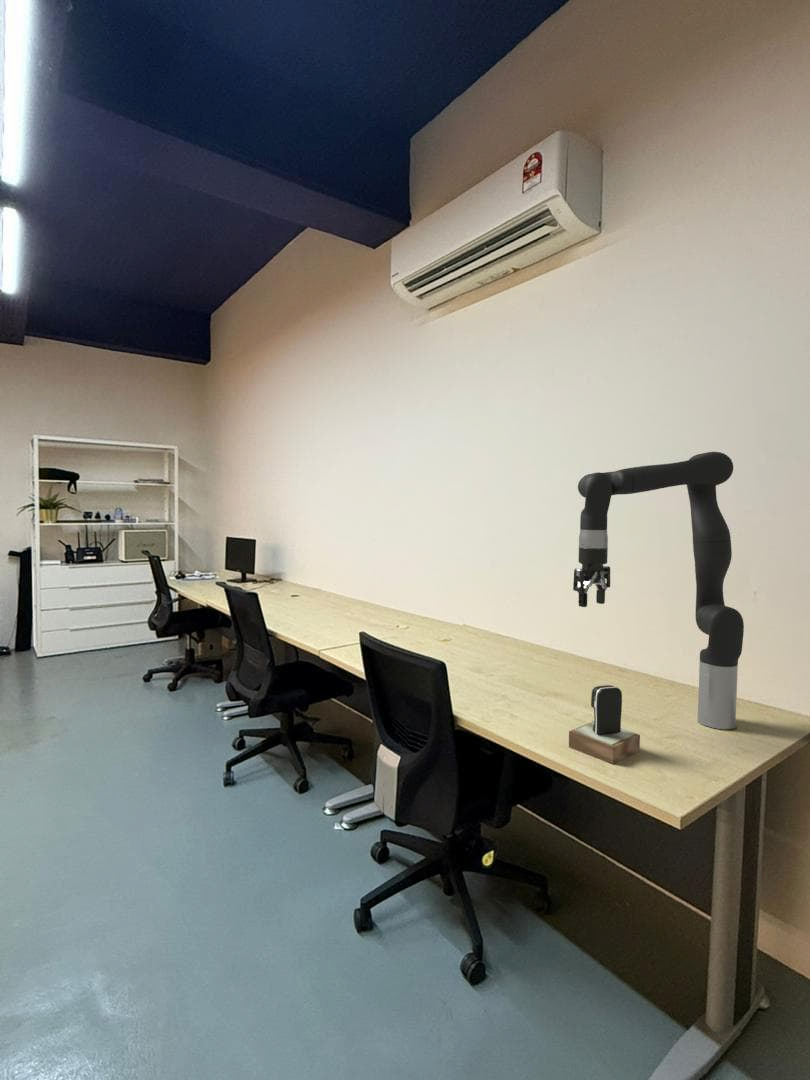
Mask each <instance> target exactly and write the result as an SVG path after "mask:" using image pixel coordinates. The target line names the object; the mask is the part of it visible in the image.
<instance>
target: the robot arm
mask: <svg viewBox="0 0 810 1080" xmlns="http://www.w3.org/2000/svg"><path fill="white" fill-rule="evenodd" d="M733 473H734V463H733V461H732V458H730V456H728V455H727V454H725V453H723V452H720V451H707V452H704V453H703V452H701V453H697V454H695V455H693V456H691V457H689V459H688V460H687V459H686V460H684V461H677V462H671V463H661V464H652V465H642V466H641V465H640V466H634V467H628V468H627V467H626V468H622V469H618V470H614V471H606V472H599V471H598V472H593V473H588V474H585V475H584V476H583V477H581V478H580V480H579V481H578V483H577V490H578V493H579V494H580V496H582V497H583V498H585V499H584V500H585V502H584V507H583V509H582V510H581V511H580V520H579V524H580V525H579V536H578V559H577V560H578V563H580V564H581V565H582V566H581V568H574V570H573V583H572V584H573V587H572V589H573V591H574V592H577V593H578V606H579V607H582V608H587V607H588V591H589V589H590V588H591V587H592V586H593V584H594V586H595V587H596V595H595V596H596V599H595V600H596V601H595V602H596V604H599V605H604V604H605V602H606V591H607V590H608V589H607V588H611V566H608V565H607V564H608V554H609V553H608V552H609V550H608V547H609V546H608V545H609V535H608V512H609V509H610V505H611V499H612V496H617V495H630V494H631V495H633V494H639V493H644V492H645V493H646V492H651V491H657V490H660V489H665V488H670V487H671V488H672V487H677V486H684V485H686V489H687V495H688V500H689V506H690V518H691V519H690V520H691V532H692V548H693V558H694V572H695V584H696V585H695V587H696V588H695V589H696V593H695V594H696V595H695V596H696V597H695V623H696V625H697V628H698V629H699V631H701V633H704V634H705V635H708V641H707V642H708V643H707V646H706V648H703V649H701V650H700V651H699V663H698V664H699V669H698V672H699V673H698V695H697V697H698V699H697V701H698V703H697V722H698V723H700V724H702V725H703V726H705V727H709V728H712V729H719V730H732V729H735V728H736V726H737V725H736V722H737V721H736V720H737V718H736V717H737V696H738V694H737V693H738V669H739V665H738V664H739V659H740V657H741V655H742V651H743V642H744V634H745V633H744V630H745V627H744V625H745V624H744V618H743V616H742V614H741V613H740V611H738V609H735V608H733V607H730V606H727V605H726V604H725V598H724V583H725V578H726V574H727V573H728V570H729V568H730V565H731V562H732V556H733V555H732V554H733V553H732V541H731V539H732V538H731V532H730V528H729V526H728V524H727V522H726V520H725V518H724V516H723V514H722V512H721V509H720V507H719V504H718V500H717V499H718V498H717V486H719V485H721V484H724V483H725V482H726V481H728V480H729V479H730V478H731V476H732V474H733Z"/></svg>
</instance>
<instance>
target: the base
mask: <svg viewBox="0 0 810 1080" xmlns="http://www.w3.org/2000/svg"><path fill="white" fill-rule="evenodd" d="M593 726H594V721H591V722H588V723H586V724H584V725H581V726H579V727H576V728H574V729H571V730H569V731H568V748H570V749H572V750H575V751H578V752H580V753H583V754H586V755H588V756H591V757H593V758H595V759H598V760H601V761H603V762H606V763H608V764H612V765H614V764H617V763H618V762H621V761H622V760H624V759H627V758H628V757H630V756H632V755H635V753H638V752H640V747H641V746H640V744H641V743H640V742H641V734H639V733H635V732H633V731H630V730H626V729H624V728H621V732H619V733H613V734H604V735H598V734H596V733H595V732H594V731H593Z"/></svg>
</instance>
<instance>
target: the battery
mask: <svg viewBox="0 0 810 1080" xmlns="http://www.w3.org/2000/svg"><path fill="white" fill-rule="evenodd" d="M590 707H591V708H593V714H594V715H593V717H594V718H593V719H594V726H593V731H594V732H595V733H596V734H598V735H604V734H613V733H619V732H621V729H622V728H621V725H622V710H623V709H622V708H623V693H622V690H621V689H620V688H619V687H617V686H614V685H609V684H606V685H598V686H594V687H593V688H592V690H591V697H590Z"/></svg>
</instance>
